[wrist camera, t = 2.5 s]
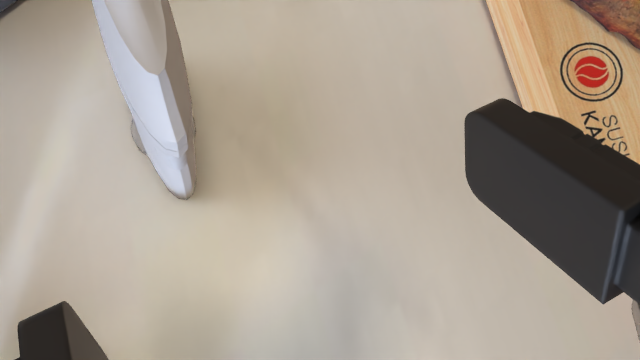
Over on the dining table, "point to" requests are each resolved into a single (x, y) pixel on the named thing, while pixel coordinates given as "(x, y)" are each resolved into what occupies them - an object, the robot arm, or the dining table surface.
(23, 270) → the dining table surface
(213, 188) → the dining table surface
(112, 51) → the white long tapered piece
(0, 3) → the bowl
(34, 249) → the dining table surface
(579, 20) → the cutting board
